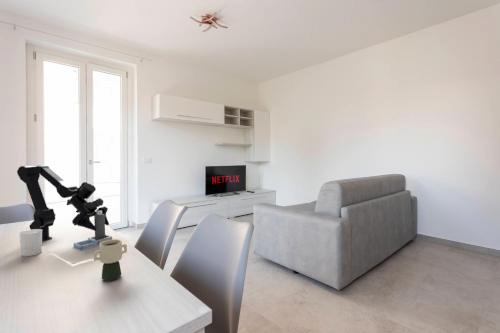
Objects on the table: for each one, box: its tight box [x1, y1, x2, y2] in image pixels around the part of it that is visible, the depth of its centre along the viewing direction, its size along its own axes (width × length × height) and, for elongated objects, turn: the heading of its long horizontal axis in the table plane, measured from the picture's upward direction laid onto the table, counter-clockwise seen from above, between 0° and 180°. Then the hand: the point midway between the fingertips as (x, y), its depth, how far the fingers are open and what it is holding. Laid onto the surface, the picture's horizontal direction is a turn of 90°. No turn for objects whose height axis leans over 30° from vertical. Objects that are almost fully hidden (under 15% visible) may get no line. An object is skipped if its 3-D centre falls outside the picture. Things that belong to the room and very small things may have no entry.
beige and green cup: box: [93, 239, 128, 281], centre depth 93 cm, size 11×7×13 cm, turn 135°
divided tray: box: [73, 233, 113, 251], centre depth 129 cm, size 11×16×2 cm
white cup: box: [18, 229, 43, 257], centre depth 117 cm, size 8×8×10 cm
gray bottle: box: [93, 210, 106, 240], centre depth 132 cm, size 4×4×15 cm
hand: (102, 227), depth 132 cm, fingers open, 9 cm apart
